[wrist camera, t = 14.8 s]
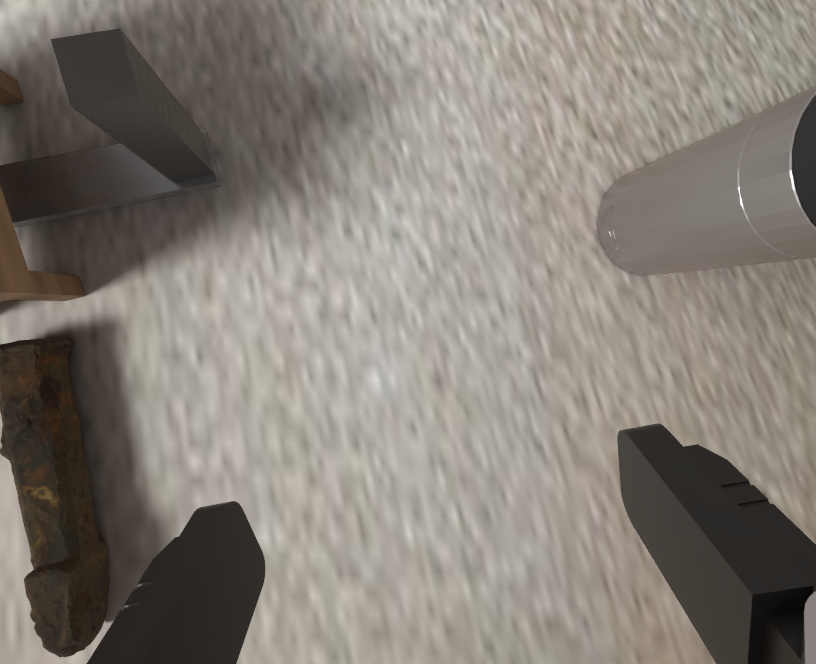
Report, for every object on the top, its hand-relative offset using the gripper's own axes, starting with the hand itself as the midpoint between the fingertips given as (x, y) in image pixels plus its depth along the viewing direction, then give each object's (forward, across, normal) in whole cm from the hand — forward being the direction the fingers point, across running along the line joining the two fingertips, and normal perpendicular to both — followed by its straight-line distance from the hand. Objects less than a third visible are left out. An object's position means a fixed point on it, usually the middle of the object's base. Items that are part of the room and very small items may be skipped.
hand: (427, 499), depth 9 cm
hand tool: (+21, +28, +11) cm, 37 cm away
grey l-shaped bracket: (+27, +24, -10) cm, 38 cm away
